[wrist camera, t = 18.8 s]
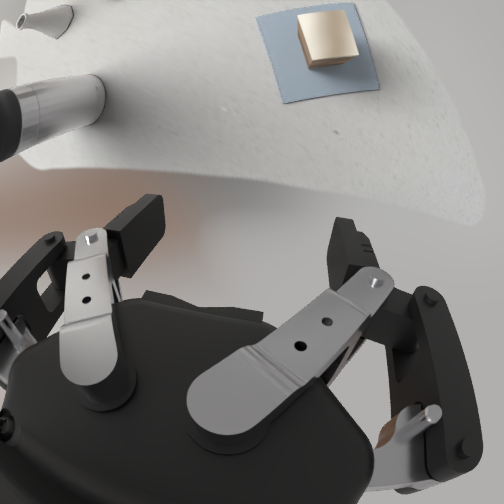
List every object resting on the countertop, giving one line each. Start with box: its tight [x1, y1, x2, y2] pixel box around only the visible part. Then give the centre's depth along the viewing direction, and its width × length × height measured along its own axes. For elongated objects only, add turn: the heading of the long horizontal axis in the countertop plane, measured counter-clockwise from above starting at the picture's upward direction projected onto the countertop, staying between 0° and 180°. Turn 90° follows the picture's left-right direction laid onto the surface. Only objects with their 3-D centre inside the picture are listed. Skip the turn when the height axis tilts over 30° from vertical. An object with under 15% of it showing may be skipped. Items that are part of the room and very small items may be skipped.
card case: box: [298, 10, 359, 69], centre depth 22 cm, size 4×5×10 cm
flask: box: [16, 5, 73, 39], centre depth 20 cm, size 7×7×10 cm
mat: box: [256, 3, 379, 104], centre depth 26 cm, size 13×13×1 cm
